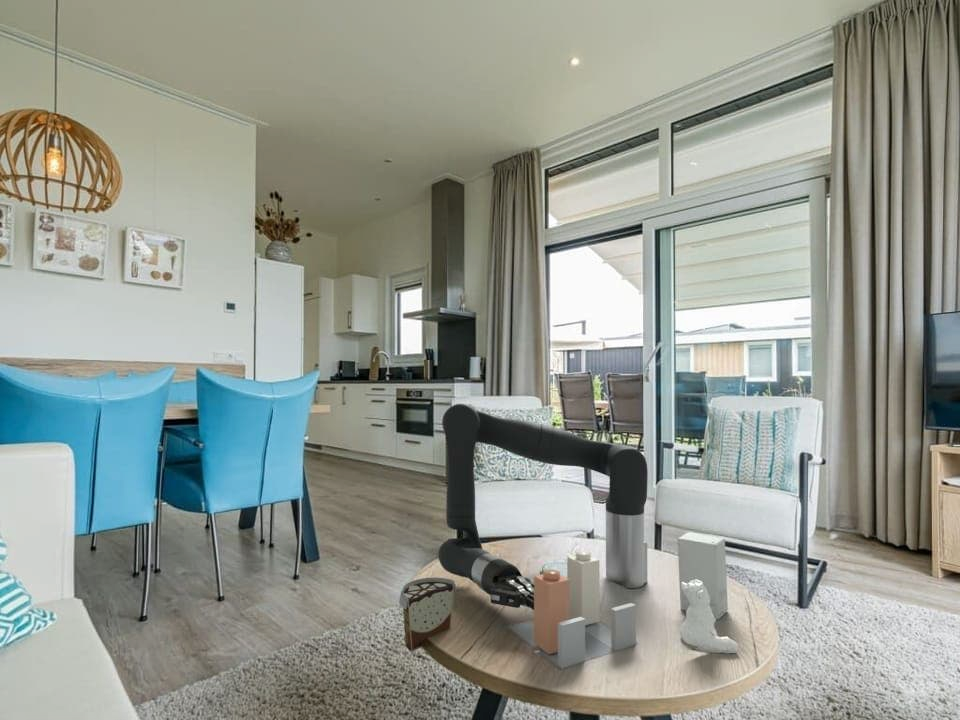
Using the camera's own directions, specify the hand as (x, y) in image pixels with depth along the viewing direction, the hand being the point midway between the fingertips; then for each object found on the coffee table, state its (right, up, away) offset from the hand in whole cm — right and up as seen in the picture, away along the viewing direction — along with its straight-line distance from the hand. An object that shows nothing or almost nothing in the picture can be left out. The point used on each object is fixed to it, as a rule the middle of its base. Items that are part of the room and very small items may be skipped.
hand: (543, 607), depth 96 cm
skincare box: (+36, -9, +17) cm, 41 cm away
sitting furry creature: (+30, -8, +1) cm, 31 cm away
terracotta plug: (+1, -6, -2) cm, 7 cm away
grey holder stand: (+5, -8, +3) cm, 10 cm away
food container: (-23, -8, +4) cm, 25 cm away
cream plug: (+9, -7, +8) cm, 14 cm away
